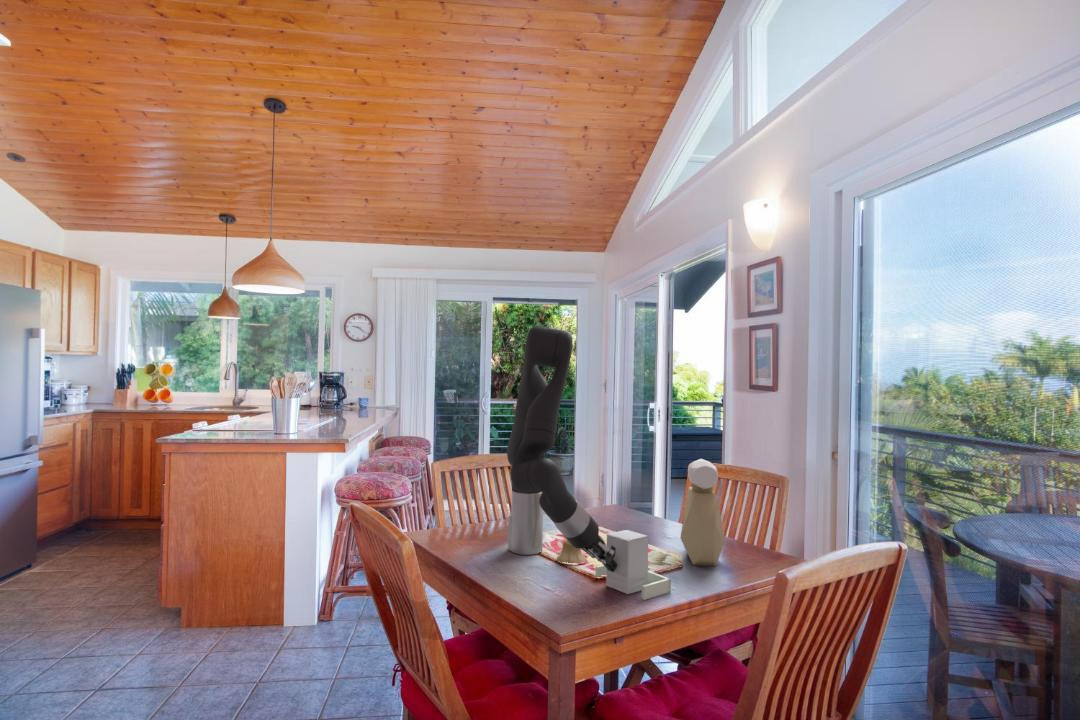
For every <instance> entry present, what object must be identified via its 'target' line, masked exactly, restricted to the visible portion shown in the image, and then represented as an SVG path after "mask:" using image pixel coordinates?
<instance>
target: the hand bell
mask: <svg viewBox="0 0 1080 720" xmlns="http://www.w3.org/2000/svg"><path fill="white" fill-rule="evenodd" d="M556 558H557V560H558V561H560V562H566V563H567V562H568V563H581V562H584V561H585V560H586V561H587V559H586V558H585V556H584V555H583V554H582V549H579V548H575V547H573V546H572V545H571V543H570V542H569V541H568V540H567V539H566V538H565V539H564V541H563V544H562V549H561V552H560V554H559V555H558V556H557V557H556Z"/></svg>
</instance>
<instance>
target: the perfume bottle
mask: <svg viewBox="0 0 1080 720" xmlns="http://www.w3.org/2000/svg"><path fill="white" fill-rule="evenodd" d="M687 475H688V481H689V482H690V483H691V486H689V487H688V488H687V493H686V501H685V508H684V513H683V521H682V525H681V532H680V541H681V542H682V544H683V548H684V549H685V551H686V553H687V555H688V557H689V559H690V561H691V563H692V565H693V566H697V567H699V566H703V567H715V566H717V564H718V561H719V559H720V556H721V553H722V551H723V547H724V544H725V542H726V538H725V533H724V528H723V522H722V516H721V510H720V505H719V500H718V496H717V495H716V494H715V493H714V492H713V487H714V486H715V485H716V484H717V483H718V480H719V474H718V468H717V467H716V466H715V465H714V464H713V463H712V462H711V461H709V460H706V459H703V458H699V459H697V460H693V461H692V462H691V463H689V464H688V467H687Z"/></svg>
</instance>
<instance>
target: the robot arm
mask: <svg viewBox="0 0 1080 720" xmlns="http://www.w3.org/2000/svg"><path fill="white" fill-rule="evenodd" d="M524 345H525V346H524V355H523V365H522V366H523V367H522V372H521V373H522V374H521V380H520V385H519V389H518V394H517V399H516V405H515V410H514V411H515V413H514V421H513V425H512V429H511V432H510V437H509V440H508V443H507V449H506V457H507V461H508V463H509V465H511V469H510V480H511V481H510V482H511V510H510V511H511V513H510V514H511V515H509V516H508V518H507V519H508V521H507V523H508V524H507V551H508V550H509V551H511V553H514V554H518V555H523V556H524V555H525V556H526V555H528V556H532V555H538V554H540V553H541V552H540V551H541V550H542V551H543V540H544V539H543V536H544V534H543V533H544V529H543V528H544V513H545V514H546V516H548V518H549V519H550V520H551V521H552V523H553V524H554V525H555V528H556V529H557V530H558V531H559V532H560V533H561V535H562V536H563V537H564V538H565V540H566V539H567V540H568V541H569V542H570V543H571V545H572V546H573V547H575V548H579V549H581V551H583V552H584V553H586V554H587V555H588V556H590V557H591V558H592V559H595V560H597V561H598V562H599V563H601V565H604V566H605V567H606V568H607V570H609V571H611V572H614V571H615V569H616V567H617V563H616V562H615V561H614V560H613V558H614V557H615V553H616V548H615V547H614V546H611V547H610V546H609V547H607V543H606V542H605V540H604V539H603V538H602V536H600V535H599V532H600V529H599V524H598V523H597V522H596V521H595V519H594V518H593V516H591V515H590V513H589V512H588V511H587V509H586V508H585V507H584V506H583V505H582V504H581V503H580V502H579V501H577V500H576V498H575V497H574V496H573V494H572V493H571V492H570V491H569V490H568V488H567V486H566V482H565V480H564V478H563V477H562V474H561V470H560V469H559V467H558V465H557V464H556V463H555V461H553V460H551V459H550V458H548V457H546V453H547V452H549V451H550V450H553V448H554V446H555V442H556V435H557V434H556V433H557V426H558V423H557V422H558V416H559V411H560V405H561V401H562V397H563V394H564V391H565V390H564V389H565V386H566V382H567V377H568V373H569V372H568V371H569V367H570V363H571V358H572V352H573V335H572V333H571V332H570V331H568V330H564V329H558V328H552V327H547V326H546V327H545V326H536V325H535V326H532V327H531V328H530V329H529V330H528V333H527V336H526V340H525V344H524ZM539 366H543V367H548V368H554V373H553V376H552V378H551V380H550V381H549V382H547V381H546V379H545V378H544V376H543V374H542V373H541V371H540V369H539ZM539 552H540V553H539Z"/></svg>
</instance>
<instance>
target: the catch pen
mask: <svg viewBox="0 0 1080 720" xmlns="http://www.w3.org/2000/svg"><path fill="white" fill-rule="evenodd" d="M606 574H607V568H606V567H605V566H604V565H603V564H600V565H596V566H595V577H596V576H597V577H599V576H601V575H606ZM671 586H672V579H671V578H670V577H669V578H668V577H666V576H664V575H661V574H659V573H656V572H653V571H651V570H648V584H646V585H643V586H642V590H641V600H643V601H645V600H649V599H652V598H655V597H658V596H662V595H666V594H668V593H671V592H672V587H671Z"/></svg>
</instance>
